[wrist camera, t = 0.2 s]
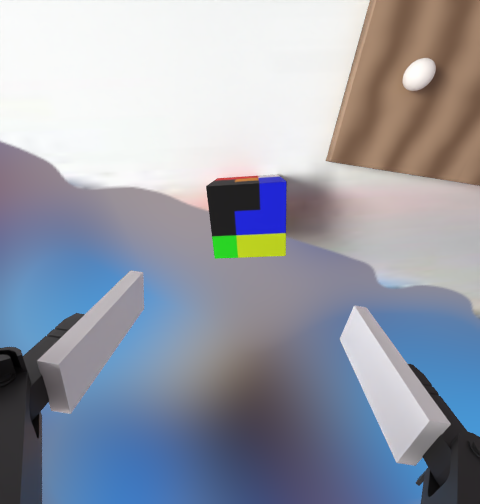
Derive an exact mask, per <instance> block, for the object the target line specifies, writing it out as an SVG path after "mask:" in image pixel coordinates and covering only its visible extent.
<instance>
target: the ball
mask: <svg viewBox="0 0 480 504" xmlns="http://www.w3.org/2000/svg"><path fill="white" fill-rule="evenodd" d="M435 71H436V66H435V63H434V61H433V60H431V59H429V58H421V59H418V60H416V61H415V62H413V63H412V64H411V65H410V66H409V67H408V68H407V69H406V71H405V73H404V75H403V80H402V81H403V86H404V87H405V88H406V89H407V90H409V91H417V90H420V89H422V88H424V87H425V86H427V85H428V84H429V83H430V81H431V80H432V79H433V77H434V75H435Z"/></svg>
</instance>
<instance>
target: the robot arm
mask: <svg viewBox="0 0 480 504" xmlns="http://www.w3.org/2000/svg"><path fill="white" fill-rule="evenodd" d="M143 309H144V290H143V272H136V271H130V272H129V273H128V274H127V275H126V276H124V277H123V278H122V279H121V280H120V281H119V282H118V283H117V284H116V285H115V286H114V287H113V288H112V289H111V290H110V291H109V292H108V293H107V294H106V295H105V296H104V297H103V298H102V299H101V300H100V301H99V302H97V303H96V304H95V305H94V306H93V307H92V308H91V309H90V310H89V311H88V312H87V313H86V314H79V313H76V314H74V315H72V316H70V317H68V318H66V319H65V320H63V321H62V322H61V323H60V324H59V325H58V326H57V327H56V328H55V329H53V330H52V331H51V332H50V333H49V334H48V335H47V336H45V337H44V338H43V339H42V340H41V341H40V342H39V343H37V344H36V345H35V346H34V347H33V348H32V349H31V350H29V351H28V352H27V353H26V354H25V355H24V356H22V353H21V350H20V349H18V348H16V347H5V348H0V504H42V415H41V412H40V411H41V410H42V409H43V408H44V406H45V405H46V404H47V403H48V402H49V404H50V408H51V411H57V412H63V413H69V414H71V413H72V411H73V410H74V408H75V407H76V405H77V404H78V402H79V401H80V400H81V398H82V396H83V395H84V394H85V392H86V391H87V389H88V388H89V387H90V385H91V384H92V382H93V381H94V380H95V378H96V377H97V375H98V374H99V372H100V371H101V370H102V368H103V367H104V365H105V364H106V362H107V361H108V360H109V358H110V356H111V355H112V353H113V352H114V351H115V349H116V348H117V347H118V345H119V344H120V342H121V341H122V340H123V338H124V337H125V335H126V334H127V332H128V331H129V329H130V328H131V326H132V325H133V324H134V322H135V321H136V319H137V318H138V316H139V315H140V314H141V312H142V311H143ZM340 341H341V343H342V345H343V347H344V349H345V352H346V354H347V356H348V358H349V360H350V362H351V365H352V367H353V369H354V371H355V373H356V375H357V377H358V380H359V382H360V384H361V386H362V388H363V391H364V393H365V395H366V397H367V399H368V402H369V404H370V406H371V408H372V410H373V412H374V414H375V416H376V419H377V421H378V423H379V425H380V427H381V430H382V432H383V434H384V436H385V438H386V440H387V443H388V445H389V447H390V449H391V451H392V454H393V456H394V458H395V460H396V462H397V463H402V464H408V465H416V464H417V463H418V462H419V461H420V460H421V459H422V457H423V458H424V460H425V462H426V464H427V465H428V468H427V469H426V471H425V472H424V473H423V474H422V475H421V476H420V477H419V479H418V480H417V482H416V484H417V485H420V484H421V483H422V482H424V483H423V491H422V499H421V504H480V437H479V436H476V435H475V434H473V433H470V432H467V430H466V429H465V428H464V426H463V425H462V424H461V423H460V421H459V420H458V419H457V417H456V416H455V415H454V413H453V412H452V411H451V409H450V408H449V407H448V406H447V404H446V403H445V402H444V401H443V399H442V398H441V397H440V396H439V395H438V392H437V391H436V390H435V389H434V387H432V385H431V383H430V382H429V381H428V379H427V378H426V377H425V375H424V374H423V373H421V372H420V371H419V370H418V369H417V368H416V367H415V366H414V365H411V364H407V363H406V361H405V360H404V359H403V357H402V356H401V355H400V353H399V352H398V350H397V349H396V348H395V346H394V345H393V344H392V342H391V341H390V339H389V338H388V337H387V335H386V334H385V333H384V331H383V330H382V328H381V327H380V326H379V324H378V323H377V322H376V320H375V319H374V317H373V316H372V315H371V313H370V312H369V311H368V309H367V308H366V307H360V306H354V307H353V310H352V312H351V314H350V317H349V319H348V322H347V324H346V326H345V328H344V331H343V333H342V335H341V338H340Z"/></svg>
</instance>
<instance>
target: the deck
mask: <svg viewBox="0 0 480 504" xmlns="http://www.w3.org/2000/svg"><path fill="white" fill-rule="evenodd" d="M421 58H429V59H431V60H433V61H434V63H435V66H436V71H435V75H434V77H433V79H432V80H431V81H430V83H429V84H428V85H427V86H425V87H424V88H422V89H420V90H417V91H409V90H407V89H406V88H405V87H404V86H403V81H402V80H403V75H404V73H405V71H406V69H407V68H408V67H409V66H410V65H411V64H412V63H413V62H415V61H416V60H418V59H421ZM326 161H329V162H336V163H342V164H348V165H354V166H361V167H367V168H373V169H380V170H386V171H392V172H398V173H405V174H411V175H417V176H423V177H430V178H436V179H442V180H449V181H455V182H461V183H467V184H474V185H480V0H370V3H369V6H368V10H367V13H366V17H365V21H364V24H363V28H362V32H361V35H360V39H359V42H358V46H357V50H356V53H355V57H354V61H353V64H352V68H351V72H350V75H349V79H348V82H347V86H346V90H345V93H344V97H343V101H342V104H341V108H340V111H339V115H338V119H337V122H336V126H335V130H334V133H333V137H332V141H331V144H330V148H329V151H328V155H327V159H326Z"/></svg>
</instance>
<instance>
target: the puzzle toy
mask: <svg viewBox="0 0 480 504" xmlns="http://www.w3.org/2000/svg"><path fill="white" fill-rule="evenodd" d="M286 183H287V181H285V180H284V179H283V178H282V177H281V176H280V175H264V176H248V177H233V178H217V179H216V180H215V181H213V182H212V183H210V184H209V185H208V186H206V189H207V197H208V205H209V214H210V221H211V231H212V239H213V247H214V255H215V258H240V257H266V256H285V255H286Z"/></svg>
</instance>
